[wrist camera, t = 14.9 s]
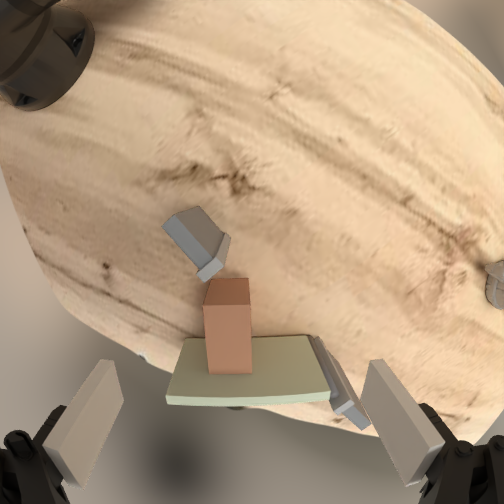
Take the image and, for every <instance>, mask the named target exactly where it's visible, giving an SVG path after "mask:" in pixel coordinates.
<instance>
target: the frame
mask: <svg viewBox="0 0 504 504" xmlns="http://www.w3.org/2000/svg"><path fill="white" fill-rule="evenodd" d="M161 227H162V228H163V229H164V230H165V231H166V232H167V234H168V235H169V236H170V237H171V238H172V239H173V240H174V242H175V243H176V244H177V245H178V246H179V247H180V248H181V249H182V251H183V252H184V253H185V254H186V255H187V256H188V257H189V258H190V260H191V261H192V262H193V263H194V264H195V265H196V266H197V267H198V268H199V270H198V272H197V274H196V275H197V276H198V277H199V278H200V279H201V280H202V282H203V283H205V282H206V281H207V280H209V279H210V278H211V277H212V276H213V275H215V274H216V273H217V272H218V271H219V270H220V269H222V268H223V267H224V265H225V261H226V257H227V253H228V248H229V244H230V240H231V237H230V236H229V235H228V234H227V233H224V234H223V232H222V231H221V230H220V229H219V228H218V227H217V226H216V225H215V223H214V222H213V221H212V220H211V219H210V218H209V217H208V215H207V214H206V213H205V212H204V211H203V210H202V209H201V207H200V206H199V207H196V208H192V209H189V210H186V211H183V212H180V213H177V214H174V215H173V216H172V217H171V218H170V219H169V220H168V221H167V222H166V223H165V224H164V225H162V226H161ZM314 341H315V343H316V346H317V348H318V350H319V352H320V354H321V356H322V358H323V360H324V362H325V365H326V367H327V369H328V371H329V373H330V375H331V377H332V380H333V382H334V384H335V386H336V388H337V390H338V392H339V395H338V397H336V398H331V397H330V399H329V402H330V404H331V407H332V409H333V411H334V412H335V413H336V414H337V415H339V414H341V413H343V414H344V415H345V416H346V417H347V418H348V419H349V420H350V421H351V422H352V423H354V424H355V425H356V426H357V427H358V428H359V429H360V430H361V431H362V430H363V429H365V428H366V427H368V426H369V425H370V424H372V423H371V421H370V420H369V418H368V416H367V414H366V412H365V410H364V408H363V406H362V405H361V403H360V401H359V399H358V397H357V395H356V393H355V392H354V390H353V388H352V386H351V384H350V382H349V381H348V379H347V377H346V375H345V373H344V371H343V369H342V368H341V366H340V364H339V363H338V361H337V360H336V359H335V358H334V357H333V356H332V355H331V354H330V353H329V351H328V350H327V349H326V347H325V345H324V343H323V341H322V340H321V339H320V338H319V337H317V338H316V339H314Z"/></svg>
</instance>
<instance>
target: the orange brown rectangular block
mask: <svg viewBox="0 0 504 504" xmlns="http://www.w3.org/2000/svg"><path fill="white" fill-rule="evenodd" d="M203 316H204V328H205V339H206V349H207V359H208V368H209V374H252V346H251V308H250V293H249V280H248V278H232V279H211V282H210V285H209V288H208V291H207V294H206V297H205V300H204V303H203Z"/></svg>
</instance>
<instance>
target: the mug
mask: <svg viewBox="0 0 504 504" xmlns="http://www.w3.org/2000/svg"><path fill="white" fill-rule="evenodd" d="M485 271H486V272H487V273H489V276H488V280H487V284H486V288H487V290H486V296H487V299H488V300H489V302H491V303H492V305H493V306H494V307H495V308H497V309H504V261H501V262H498V263H490V264H486V266H485Z"/></svg>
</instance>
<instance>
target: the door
mask: <svg viewBox="0 0 504 504" xmlns="http://www.w3.org/2000/svg"><path fill="white" fill-rule="evenodd" d="M251 346H252V374H209V368H208V359H207V349H206V339H205V338H186V339H185V342H184V345H183V347H182V350H181V353H180V356H179V359H178V361H177V364H176V367H175V370H174V373H173V376H172V378H171V381H170V384H169V387H168V390H167V393H166V400H167V404H175V405H194V406H259V405H279V404H292V403H304V402H314V401H323V400H329V399H330V397H331V398H336V397H338V395H339V392H338V390H337V388H336V386H335V384H334V382H333V380H332V377H331V375H330V373H329V371H328V369H327V367H326V365H325V362H324V360H323V358H322V356H321V354H320V352H319V350H318V348H317V346H316V343H315V341H314V339H313V337H312V336H308V337H307V335H303V336H285V337H262V338H251Z"/></svg>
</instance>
